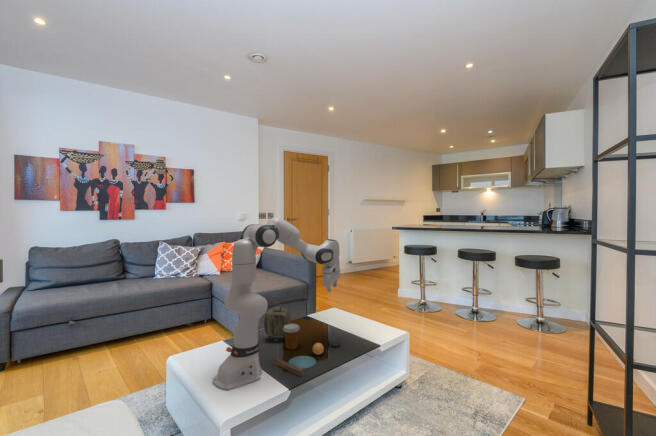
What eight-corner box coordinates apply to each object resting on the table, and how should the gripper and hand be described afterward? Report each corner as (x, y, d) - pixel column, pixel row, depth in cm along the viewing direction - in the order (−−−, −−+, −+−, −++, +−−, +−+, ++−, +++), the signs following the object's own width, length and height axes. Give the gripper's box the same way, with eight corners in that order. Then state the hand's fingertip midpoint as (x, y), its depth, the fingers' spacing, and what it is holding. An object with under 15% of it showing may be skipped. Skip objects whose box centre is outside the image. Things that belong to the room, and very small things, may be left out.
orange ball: (318, 357, 164) (318, 346, 164) (310, 354, 168) (310, 343, 168) (326, 354, 169) (325, 342, 169) (318, 350, 173) (317, 340, 173)
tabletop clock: (290, 337, 192) (290, 297, 192) (287, 343, 183) (286, 301, 183) (267, 337, 193) (267, 296, 193) (263, 343, 184) (262, 300, 184)
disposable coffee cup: (279, 348, 176) (279, 327, 176) (289, 342, 184) (289, 322, 184) (293, 352, 172) (293, 330, 172) (303, 345, 180) (302, 324, 180)
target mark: (301, 371, 149) (301, 371, 149) (282, 363, 159) (282, 362, 159) (321, 361, 160) (321, 361, 160) (302, 353, 169) (302, 353, 169)
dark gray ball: (335, 349, 175) (335, 338, 175) (327, 346, 179) (327, 335, 179) (342, 345, 179) (342, 335, 179) (334, 343, 183) (334, 332, 183)
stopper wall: (300, 376, 145) (300, 371, 145) (273, 363, 158) (273, 358, 158) (303, 375, 146) (303, 369, 146) (276, 362, 160) (276, 357, 160)
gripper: (332, 261, 193) (333, 283, 195) (320, 270, 174) (320, 294, 176) (342, 262, 191) (342, 284, 193) (331, 271, 172) (331, 295, 174)
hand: (332, 289), depth 184 cm, fingers open, 8 cm apart
